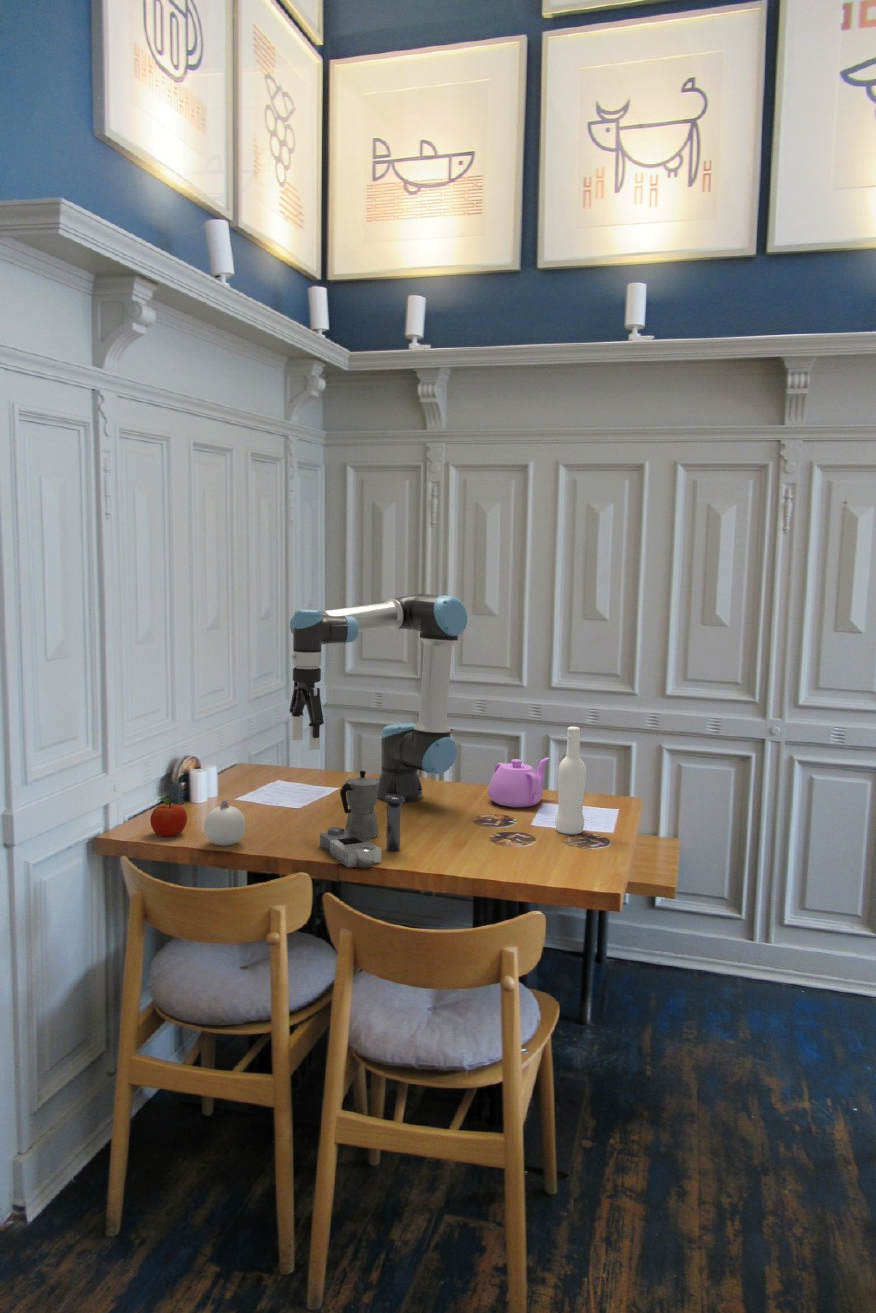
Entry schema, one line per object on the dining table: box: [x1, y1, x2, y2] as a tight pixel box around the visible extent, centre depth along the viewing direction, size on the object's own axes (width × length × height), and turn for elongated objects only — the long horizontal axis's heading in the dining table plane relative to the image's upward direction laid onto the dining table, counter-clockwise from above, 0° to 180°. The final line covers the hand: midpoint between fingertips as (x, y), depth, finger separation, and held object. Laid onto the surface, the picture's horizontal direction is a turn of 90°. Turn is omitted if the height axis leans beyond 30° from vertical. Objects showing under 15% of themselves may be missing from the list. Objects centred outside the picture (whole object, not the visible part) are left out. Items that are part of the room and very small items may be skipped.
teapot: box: [487, 756, 551, 809], centre depth 299 cm, size 22×22×14 cm
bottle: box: [554, 726, 587, 835], centre depth 269 cm, size 8×8×30 cm
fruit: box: [149, 797, 188, 838], centre depth 255 cm, size 10×10×10 cm
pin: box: [383, 795, 405, 853], centre depth 249 cm, size 5×5×14 cm
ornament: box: [203, 799, 246, 846], centre depth 249 cm, size 10×10×12 cm
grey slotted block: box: [319, 826, 382, 869], centre depth 244 cm, size 9×22×4 cm, turn 30°
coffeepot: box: [339, 770, 380, 840], centre depth 259 cm, size 15×9×18 cm, turn 145°
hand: (305, 744), depth 258 cm, fingers open, 13 cm apart
